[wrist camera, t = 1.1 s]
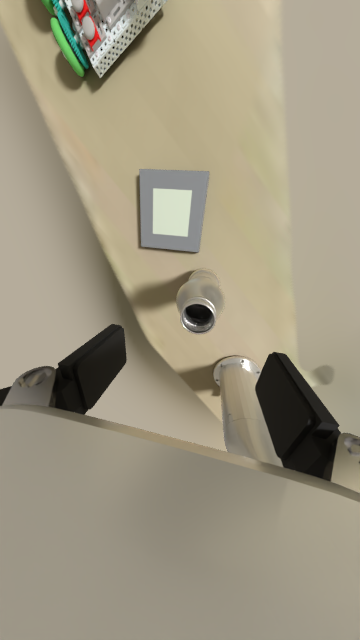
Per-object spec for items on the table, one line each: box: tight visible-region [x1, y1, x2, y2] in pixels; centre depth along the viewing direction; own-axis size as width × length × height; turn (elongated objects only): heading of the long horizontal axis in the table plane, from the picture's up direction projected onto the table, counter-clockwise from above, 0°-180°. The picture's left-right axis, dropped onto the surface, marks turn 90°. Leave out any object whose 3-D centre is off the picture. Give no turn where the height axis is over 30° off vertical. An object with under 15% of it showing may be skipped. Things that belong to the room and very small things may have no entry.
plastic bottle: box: [176, 268, 225, 334], centre depth 24 cm, size 6×7×20 cm
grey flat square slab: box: [140, 169, 209, 252], centre depth 28 cm, size 12×12×2 cm
